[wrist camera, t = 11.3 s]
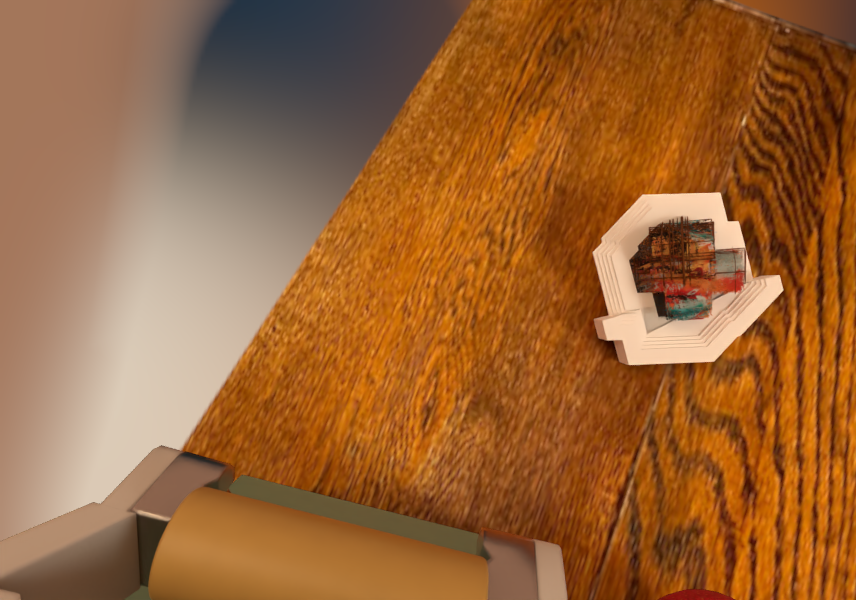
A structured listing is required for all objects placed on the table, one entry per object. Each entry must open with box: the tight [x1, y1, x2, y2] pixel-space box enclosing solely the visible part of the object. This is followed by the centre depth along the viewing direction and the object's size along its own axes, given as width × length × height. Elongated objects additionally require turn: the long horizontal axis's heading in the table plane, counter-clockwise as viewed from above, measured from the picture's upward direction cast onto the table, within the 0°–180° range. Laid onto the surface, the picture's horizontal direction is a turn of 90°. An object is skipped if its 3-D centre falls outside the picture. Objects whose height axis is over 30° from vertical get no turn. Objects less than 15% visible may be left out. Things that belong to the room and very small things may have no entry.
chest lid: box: [124, 475, 489, 600], centre depth 13 cm, size 14×12×6 cm
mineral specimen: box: [592, 193, 783, 365], centre depth 34 cm, size 12×12×7 cm
